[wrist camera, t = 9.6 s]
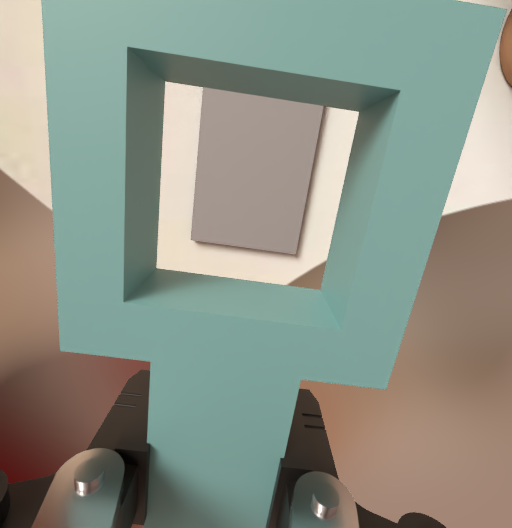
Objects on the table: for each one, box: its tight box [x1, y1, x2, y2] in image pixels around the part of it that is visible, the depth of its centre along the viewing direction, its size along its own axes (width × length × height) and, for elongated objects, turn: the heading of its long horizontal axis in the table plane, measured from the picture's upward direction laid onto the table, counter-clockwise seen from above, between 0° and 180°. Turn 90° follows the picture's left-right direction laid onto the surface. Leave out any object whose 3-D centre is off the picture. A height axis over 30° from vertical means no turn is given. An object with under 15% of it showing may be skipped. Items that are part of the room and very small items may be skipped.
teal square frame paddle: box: [41, 0, 507, 528], centre depth 7 cm, size 12×6×2 cm, turn 172°
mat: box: [191, 87, 324, 255], centre depth 28 cm, size 14×10×1 cm
